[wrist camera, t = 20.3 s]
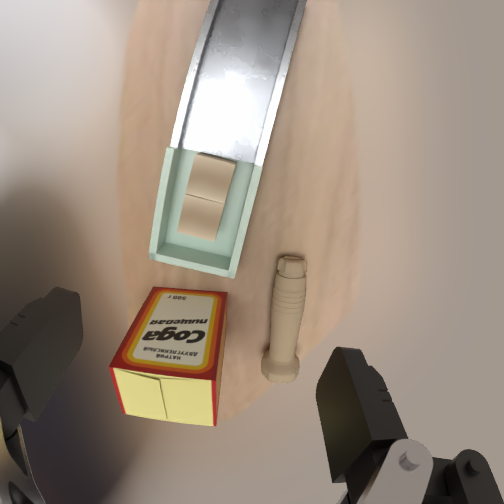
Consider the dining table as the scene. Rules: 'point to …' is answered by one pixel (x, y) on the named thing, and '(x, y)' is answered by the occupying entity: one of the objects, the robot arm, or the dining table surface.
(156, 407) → the baking soda box
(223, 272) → the chip tray
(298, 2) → the metal chute
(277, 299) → the handle
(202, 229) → the birch block
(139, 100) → the dining table surface
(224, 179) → the birch block
